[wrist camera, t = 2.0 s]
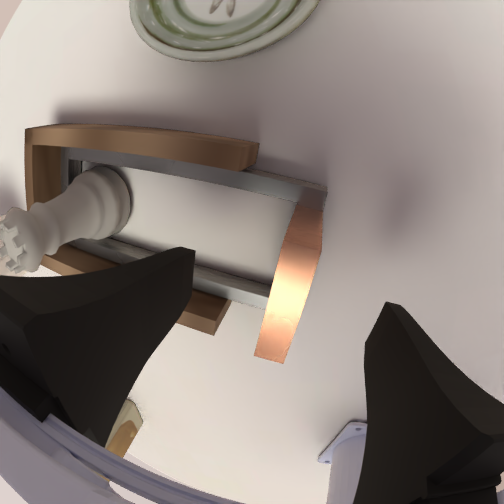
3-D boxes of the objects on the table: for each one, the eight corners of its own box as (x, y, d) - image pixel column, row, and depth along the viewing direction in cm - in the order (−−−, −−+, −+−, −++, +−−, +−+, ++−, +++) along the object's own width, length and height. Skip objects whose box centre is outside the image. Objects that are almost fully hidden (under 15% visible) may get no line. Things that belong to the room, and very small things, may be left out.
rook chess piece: (76, 204, 17) (-15, 250, 10) (98, 150, 15) (-11, 181, 8) (118, 245, 18) (30, 309, 11) (146, 192, 16) (38, 246, 9)
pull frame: (327, 187, 13) (329, 223, 8) (294, 304, 16) (277, 377, 11) (74, 143, 15) (6, 159, 10) (75, 237, 18) (19, 270, 13)
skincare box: (103, 405, 29) (54, 474, 18) (91, 383, 27) (34, 456, 16) (146, 423, 28) (99, 503, 17) (136, 402, 26) (80, 489, 15)
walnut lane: (259, 143, 13) (242, 147, 11) (230, 304, 17) (213, 335, 15) (57, 123, 15) (25, 128, 13) (61, 245, 19) (34, 261, 17)
